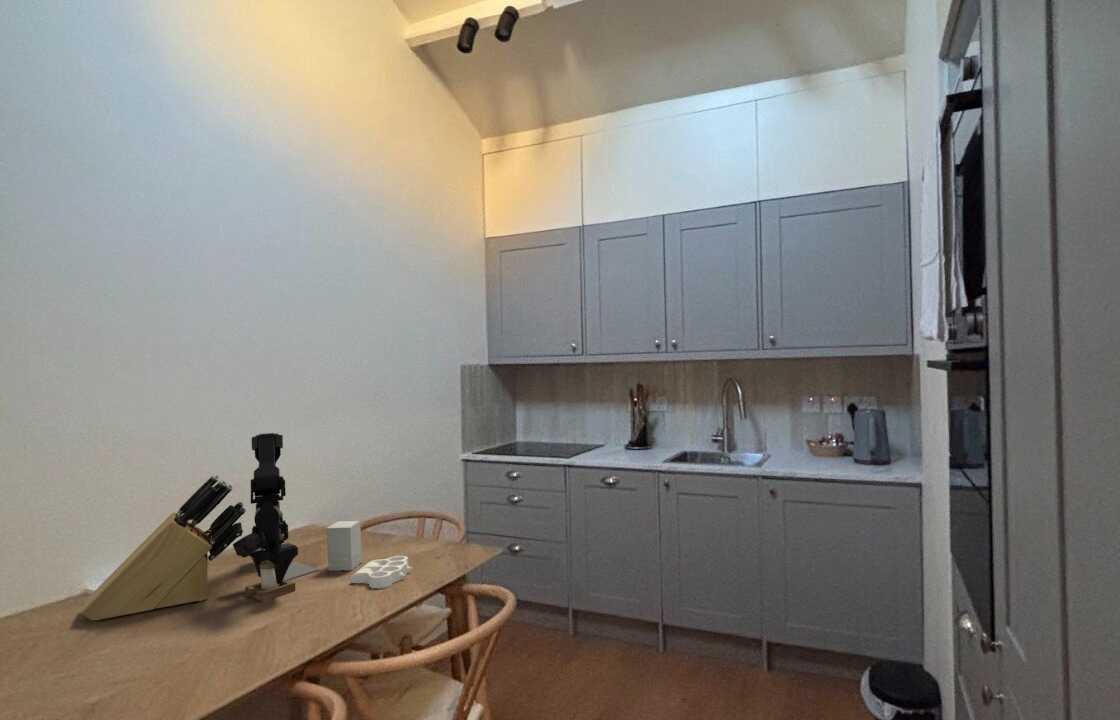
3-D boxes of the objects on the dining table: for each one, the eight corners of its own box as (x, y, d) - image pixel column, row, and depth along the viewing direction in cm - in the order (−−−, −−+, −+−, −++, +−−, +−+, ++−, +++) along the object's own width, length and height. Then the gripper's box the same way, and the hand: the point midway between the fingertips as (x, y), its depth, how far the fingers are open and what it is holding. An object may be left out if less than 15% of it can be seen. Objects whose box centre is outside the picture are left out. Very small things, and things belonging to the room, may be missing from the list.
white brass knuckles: (371, 567, 180) (420, 567, 179) (344, 590, 162) (397, 590, 161) (371, 555, 180) (419, 555, 179) (344, 577, 162) (397, 577, 161)
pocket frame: (245, 594, 160) (245, 587, 160) (278, 584, 167) (277, 576, 167) (262, 601, 155) (262, 593, 155) (295, 590, 162) (295, 583, 162)
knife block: (248, 593, 161) (244, 476, 161) (80, 626, 143) (76, 494, 143) (246, 580, 171) (242, 470, 171) (89, 610, 153) (85, 486, 153)
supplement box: (362, 562, 183) (361, 520, 183) (351, 571, 176) (350, 527, 176) (339, 562, 184) (337, 520, 184) (327, 571, 176) (325, 527, 176)
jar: (257, 593, 160) (256, 563, 160) (274, 588, 164) (273, 558, 164) (266, 597, 158) (265, 566, 158) (283, 591, 161) (282, 561, 161)
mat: (257, 575, 175) (257, 574, 175) (296, 563, 185) (296, 562, 185) (279, 583, 168) (279, 581, 168) (319, 570, 177) (319, 569, 177)
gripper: (219, 523, 160) (221, 582, 160) (255, 533, 149) (257, 597, 149) (262, 514, 169) (263, 570, 169) (298, 522, 158) (300, 583, 158)
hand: (270, 580), depth 161 cm, fingers open, 9 cm apart
